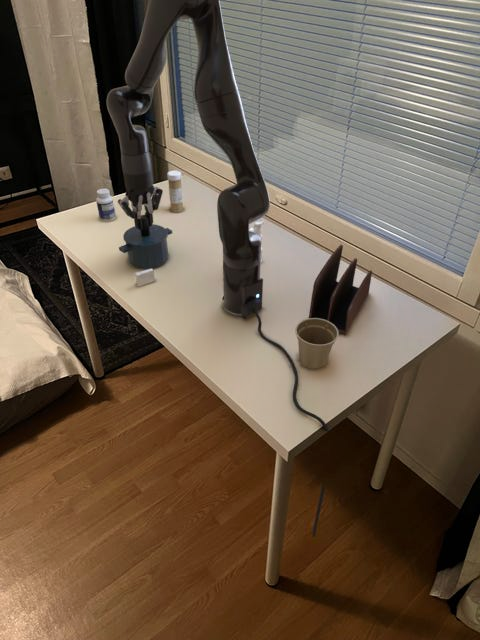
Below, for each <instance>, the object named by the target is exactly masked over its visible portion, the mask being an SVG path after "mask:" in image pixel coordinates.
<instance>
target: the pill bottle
mask: <svg viewBox="0 0 480 640" xmlns="http://www.w3.org/2000/svg"><path fill="white" fill-rule="evenodd" d="M110 194H111V192H110V189H108V188H105V187H104V188H99V189H97V191H96V195H97V197H96V198H95V201H96V207H97V212H98V217H99V220H100V221H103V222H110V221H113V220H115V219H116V209H115V204H114V198H113V196H112V195H110Z"/></svg>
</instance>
